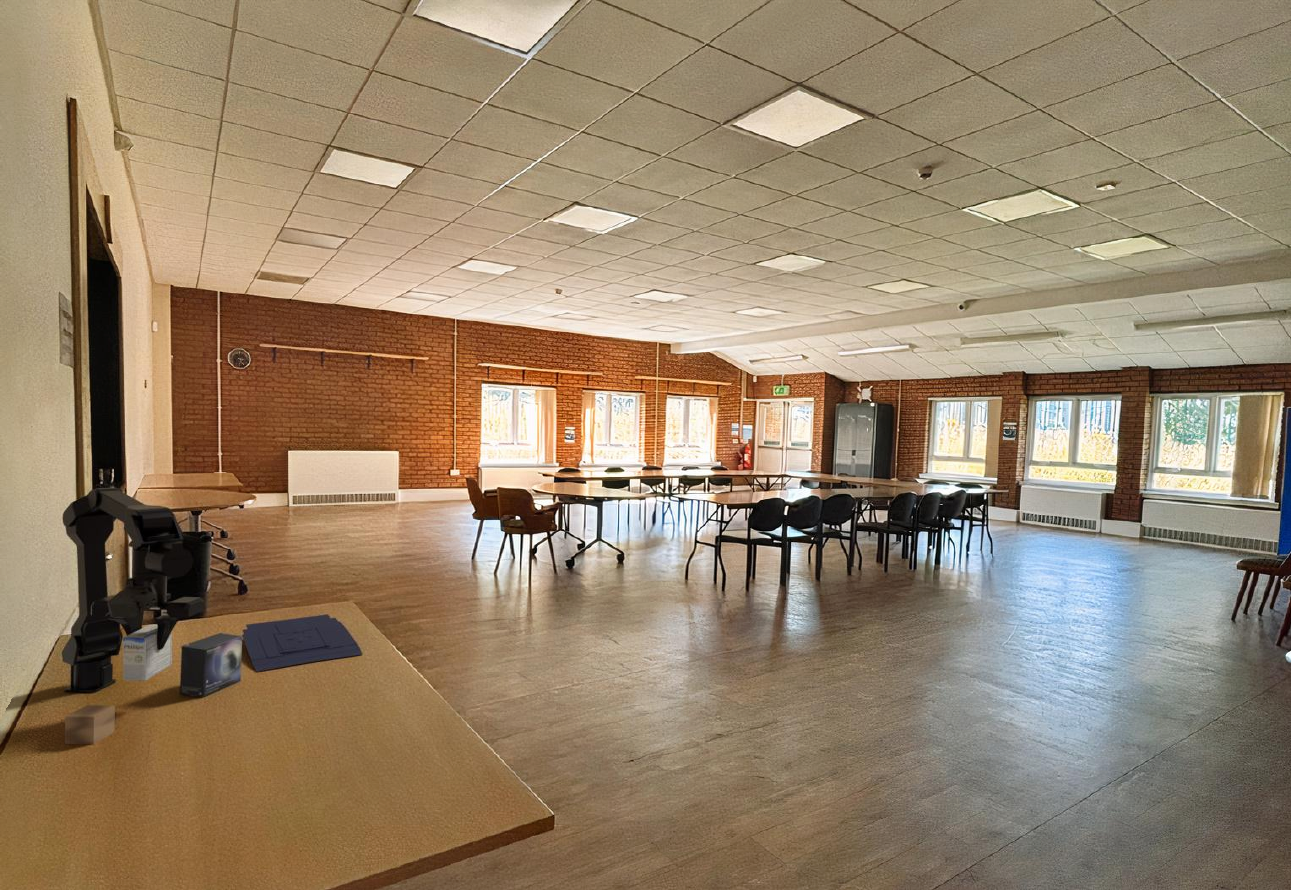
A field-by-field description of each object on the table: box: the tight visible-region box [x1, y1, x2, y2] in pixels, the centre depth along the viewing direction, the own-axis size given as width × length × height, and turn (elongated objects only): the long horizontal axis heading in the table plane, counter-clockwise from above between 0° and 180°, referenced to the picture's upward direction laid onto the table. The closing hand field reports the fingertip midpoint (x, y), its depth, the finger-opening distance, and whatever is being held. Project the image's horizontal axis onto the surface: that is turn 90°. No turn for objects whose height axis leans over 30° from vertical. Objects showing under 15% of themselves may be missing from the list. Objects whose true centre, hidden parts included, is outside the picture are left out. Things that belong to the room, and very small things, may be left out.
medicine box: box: [122, 624, 173, 682], centre depth 138 cm, size 8×4×9 cm, turn 2°
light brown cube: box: [64, 704, 116, 745], centre depth 126 cm, size 5×5×5 cm
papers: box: [241, 613, 363, 673], centre depth 180 cm, size 24×30×4 cm
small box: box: [178, 632, 243, 698], centre depth 151 cm, size 11×6×10 cm, turn 168°
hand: (148, 649), depth 138 cm, fingers closed on medicine box, 4 cm apart
